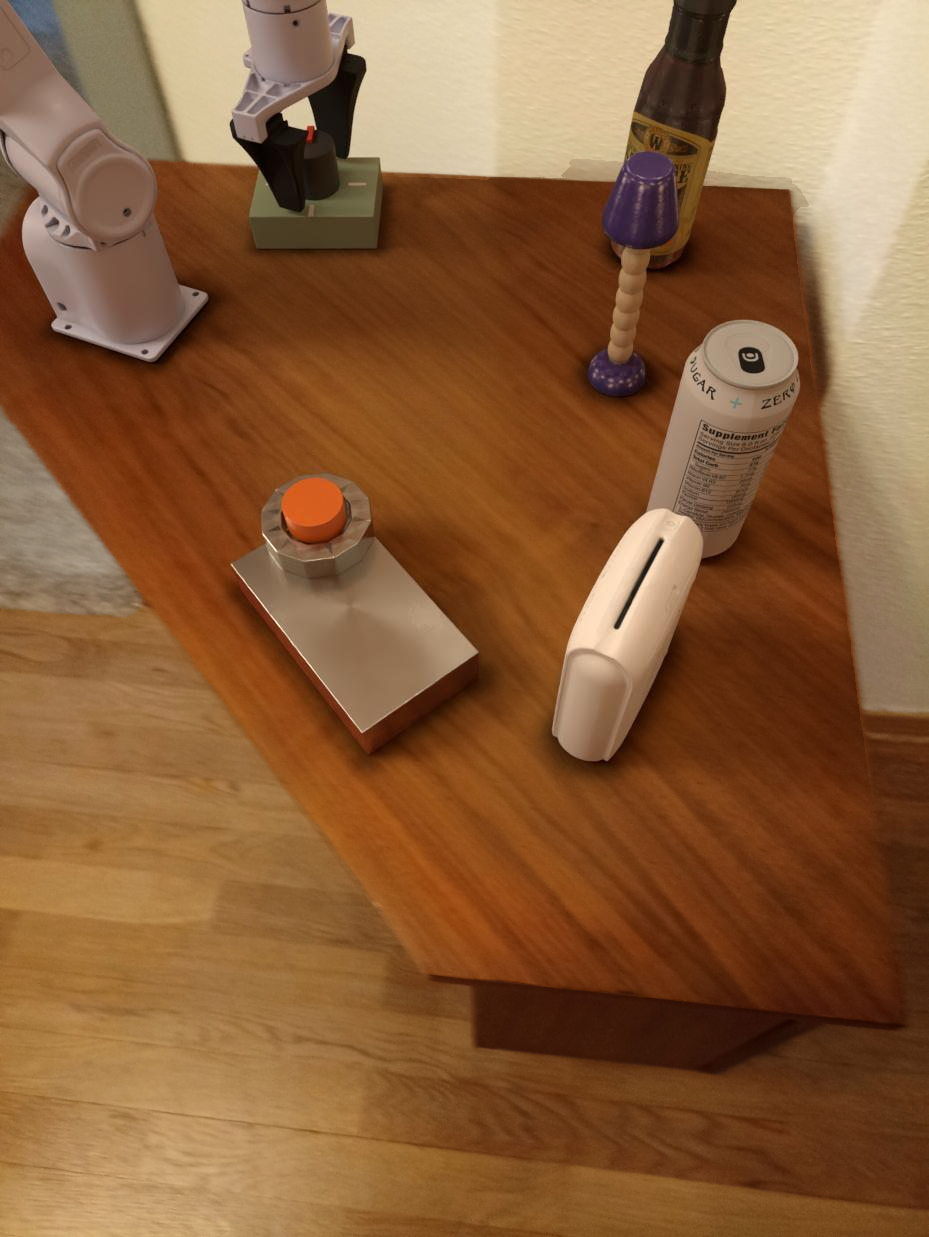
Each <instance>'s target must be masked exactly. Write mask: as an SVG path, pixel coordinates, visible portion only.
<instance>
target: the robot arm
mask: <svg viewBox="0 0 929 1237" xmlns="http://www.w3.org/2000/svg"><path fill="white" fill-rule="evenodd" d="M327 4H328V3H327V0H241V5H242V8H243V13H244V20H245V23H246V29H247V33H248V38H249V42H250V48H249V49H248V50H247V51H246V52H244V53H243V54H242V57H241V58H242V62H243V65H244V67H245V68H247V69H250V70H249V73H248V76H247V79H246V82H245V84H244V88H243V90H242V93H241V95H240V99H239V101H238V102H237V104H236V105H235V106H234V107H233V109H231V110H230V112H231V116H232V119H231V120H230V121H229V124H228V125H229V129H230V132H231V133H230V134H231V137H232V139H233V140H234V141H235V142H236V143H237V144H238V145H239V146H240V147H241V148H242V149H243V150H244V151H245V153H247V155H248V156H249V157H250V158H251V160H252V161H253V163H254V164H255V165H256V166H257V168H258V169H259V170H260V171H261V173H262V174H263V176H264V178H265V180H266V181H267V183H268V185H269V187H270V189H271V191H272V193H273V195H274V197H275V199H276V201H277V203H278V205H279V207H281V208H284V209H288V210H292V211H295V212H302V210H303V209H304V208H305V200H306V195H305V184H304V174H303V160H304V151H305V145H306V141H307V137H308V134H309V131H307V129H304V128H303V129H302V128H299V127H296V126H295V127H294V126H290V125H289V121H288V120H287V119H284V116H283V113H282V112H283V111H284V110H286V109H288V108H290V107H291V106H293V105H294V104H297V103H299V102H300V101H301V100H304V99H306V98H307V100H308V103H309V105H310V108H311V112H312V115H313V120H314V124H315V125H314V126H315V130H321V131H324V132H326V133H328V134H329V135H331V136H332V138H333V140H334V144H335V151H336V157H338V158H342V159H346V158H347V157H350V151H351V143H352V132H353V124H354V116H355V109H356V104H357V100H358V96H359V92H360V90H361V86H362V83H363V80H364V78H365V75H366V73H367V61H366V58H364V57H363V56H362V55H358V54H354V53H349V52H348V51H349V50H351V48H352V47H354V45H355V44H356V39H355V29H354V21H353V17H352V16H349V15H344V14H339V13H336V12H335V13H334V12H328V10H329V9H328V5H327ZM110 131H111V130H109V129H108V128H107V126H106V125H105V124H104V122H103V120H102V119H101V117H99V115H98V114H97V113H96V112H95V110H93V109H92V107H91V106H90V105H89V103H87V102H86V101H85V100H84V99H83V98H82V96H81V95H80V94H79V93H78V92H77V91H76V90H75V89H74V87H73V86H72V85H71V84H70V83H69V82H68V81H67V80H66V79H65V78H64V77H63V75H62V74H61V73H60V72H59V70H57V68H56V67H55V66H54V64H53V62H52V61H51V60H50V58H49V57H48V55H47V54H46V53H45V51H44V49H42V47H41V46H40V44H39V42H37V40H36V39H35V37H34V36H33V34H32V33H31V32H30V30H29V29H28V28H27V26H26V25H25V23H24V21H23V20H22V19H21V17H20V16H19V15H18V13H17V12H16V11H15V9H14V8H13V6H12V5H11V3H10V2H9V0H0V151H1V154H2V157H3V159H4V160H5V162H6V164H7V166H8V167H9V168H10V169H11V170H12V171H13V173H14V174H15V175H17V176H18V177H19V178H20V179H22V180H23V181H25V182H26V183H27V184H29V185H31V186H32V187H33V188H34V189H35V190H36V191H37V194H38V195H39V196H38V197H36V198H35V199H34V200H33V201H32V202H31V204H30V205H29V207H28V208H27V210H26V213H25V215H24V217H23V221H22V226H21V239H22V240H21V241H22V246H23V249H24V254H25V256H26V258H27V261H28V262H29V264H30V266H31V268H32V270H33V273H34V274H35V276H36V278H37V280H38V282H39V284H40V286H41V288H42V290H43V292H44V294H45V296H46V297H47V299H48V302H49V304H50V305H51V308H52V309H53V311H54V313H55V315H56V318H55V319H54V320H53V321H52V322H51V328H52V330H53V331H54V332H56V333H59V334H62V335H65V336H69V337H71V338H74V339H78V340H80V341H84V342H87V343H89V344H93V345H96V346H99V347H102V348H104V349H108V350H111V351H113V352H114V351H115V352H117V353H121V354H124V355H126V356H130V357H132V358H136V359H139V360H142V361H145V362H147V363H155V362H156V361H157V360H158V359H159V358H160V357H161V356H162V355H163V354H164V353H165V351H166V350H167V349H168V348H169V347H170V345H171V344H173V342H174V341H175V339H176V338H177V337H178V336H179V335H180V334H181V333H182V331H183V330H184V329H185V328H186V327H187V326H188V324H190V322H191V321H192V320H193V318H194V317H195V316H196V315H197V314H198V313H199V312H200V311H201V310H202V308H203V307H204V306H205V305H206V304H207V302H208V301H209V295H208V293H206V292H205V291H202V290H200V289H199V290H198V289H196V288H191V287H188V286H185V285H183V284H179V282H178V279H177V277H176V273H175V270H174V268H173V265H172V262H171V259H170V256H169V254H168V250H167V247H166V245H165V242H164V239H163V236H162V233H161V231H160V227H159V225H158V222H157V219H156V216H155V213H154V211H155V208H156V206H157V198H158V184H157V183H158V182H157V178H156V175H155V172H154V169H153V167H152V164H150V162H149V160H148V159H147V158H146V157H145V156H144V155H143V154H142V152H140V151H139V150H137V149H136V148H135V147H133V146H131V145H130V144H129V143H126V142H124V141H123V140H121V139H119V138H118V137H117V136H116V135H115V134H113V133H112V132H110ZM259 170H258V171H259Z"/></svg>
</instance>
